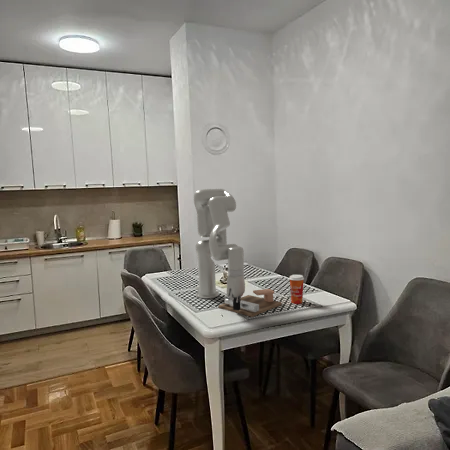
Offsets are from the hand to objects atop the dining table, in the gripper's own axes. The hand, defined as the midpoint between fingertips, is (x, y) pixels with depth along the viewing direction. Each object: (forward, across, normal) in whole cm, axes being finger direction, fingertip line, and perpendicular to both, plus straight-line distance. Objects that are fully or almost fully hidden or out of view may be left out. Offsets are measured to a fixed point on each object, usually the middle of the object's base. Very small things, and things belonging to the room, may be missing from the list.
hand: (236, 309), depth 193 cm
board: (+2, -13, 0) cm, 13 cm away
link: (0, -5, -1) cm, 5 cm away
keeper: (+2, -21, +4) cm, 21 cm away
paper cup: (+2, -30, +18) cm, 35 cm away
